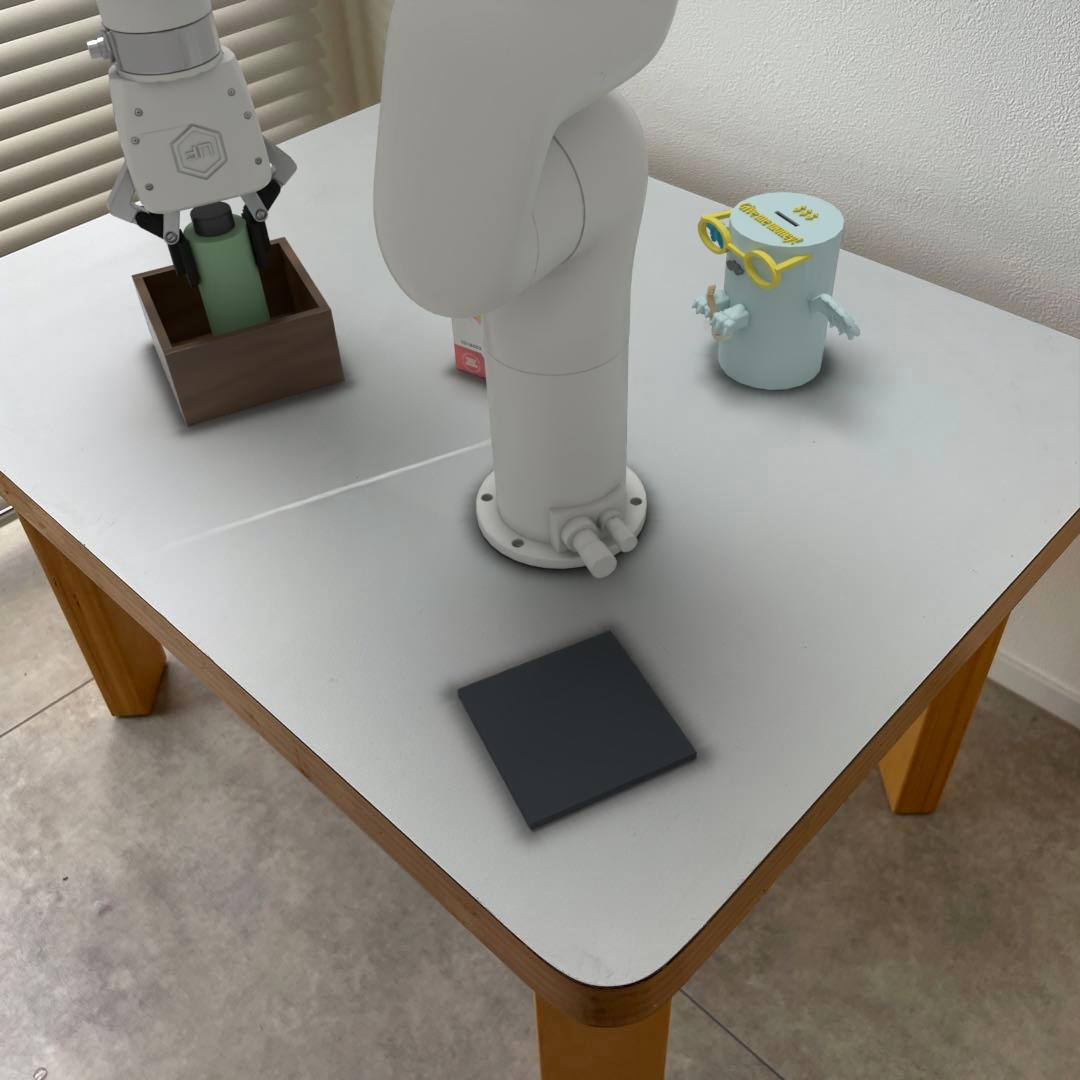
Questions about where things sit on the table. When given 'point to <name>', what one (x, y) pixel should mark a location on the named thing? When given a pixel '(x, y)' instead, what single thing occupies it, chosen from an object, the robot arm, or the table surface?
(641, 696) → the mat
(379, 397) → the table surface
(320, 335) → the open box
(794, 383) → the character sculpture
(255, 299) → the bottle
